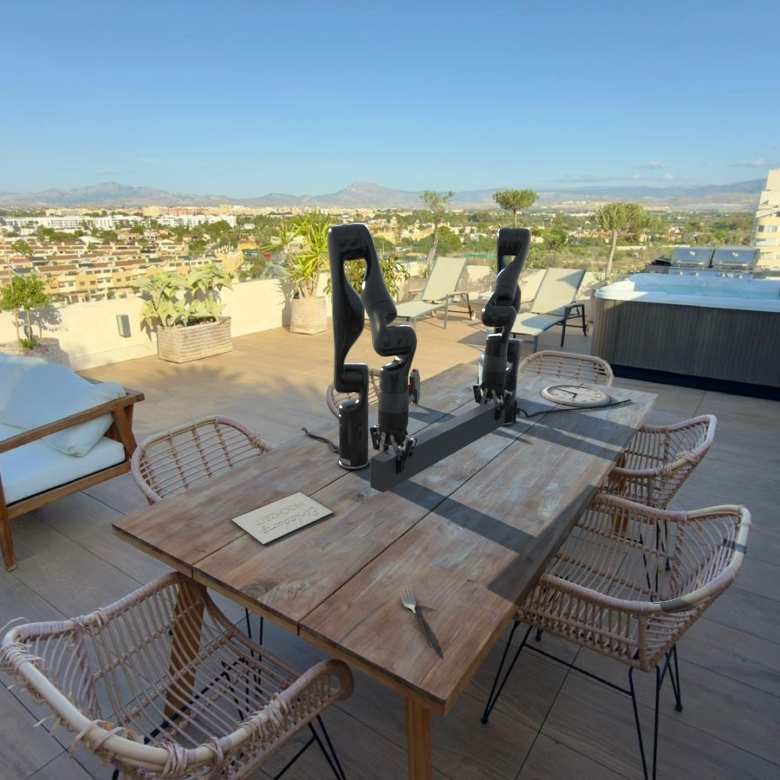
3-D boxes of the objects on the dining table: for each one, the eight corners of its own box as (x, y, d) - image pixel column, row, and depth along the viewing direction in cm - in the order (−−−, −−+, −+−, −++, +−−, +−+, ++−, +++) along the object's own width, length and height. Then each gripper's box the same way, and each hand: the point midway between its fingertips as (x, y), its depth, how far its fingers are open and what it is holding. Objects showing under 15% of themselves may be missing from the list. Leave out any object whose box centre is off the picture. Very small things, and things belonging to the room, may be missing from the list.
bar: (492, 421, 178) (494, 398, 175) (503, 425, 175) (506, 401, 172) (370, 487, 132) (370, 457, 129) (383, 493, 129) (384, 462, 126)
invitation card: (299, 491, 149) (333, 511, 139) (299, 492, 149) (333, 512, 139) (231, 519, 134) (263, 543, 124) (231, 520, 134) (263, 544, 124)
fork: (423, 651, 94) (424, 642, 93) (398, 593, 109) (398, 585, 108) (437, 648, 95) (437, 639, 94) (410, 591, 109) (411, 583, 109)
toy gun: (394, 376, 210) (415, 366, 221) (395, 413, 216) (416, 402, 227) (399, 377, 209) (420, 367, 220) (400, 414, 215) (420, 403, 226)
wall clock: (623, 402, 226) (556, 403, 224) (623, 406, 227) (556, 407, 224) (592, 383, 255) (532, 383, 252) (591, 386, 255) (532, 386, 253)
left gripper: (361, 403, 130) (361, 466, 135) (407, 417, 121) (405, 483, 126) (381, 396, 135) (380, 456, 141) (425, 409, 127) (423, 473, 132)
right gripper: (468, 366, 167) (465, 416, 172) (509, 374, 159) (504, 426, 164) (480, 361, 173) (477, 410, 178) (520, 369, 164) (515, 420, 169)
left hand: (392, 469), depth 133 cm, fingers closed on bar, 4 cm apart
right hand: (490, 417), depth 171 cm, fingers closed on bar, 4 cm apart
